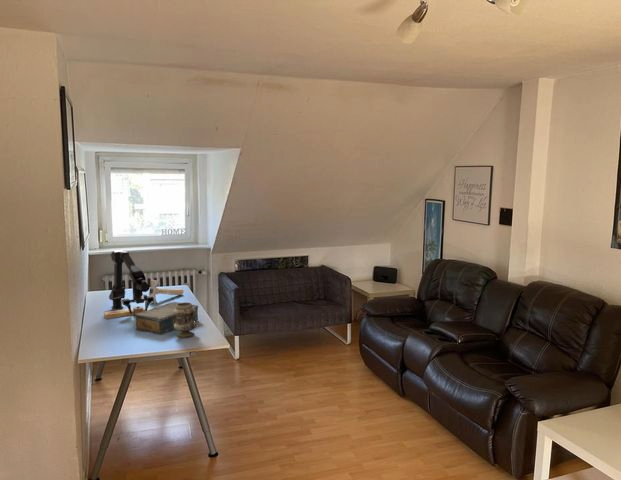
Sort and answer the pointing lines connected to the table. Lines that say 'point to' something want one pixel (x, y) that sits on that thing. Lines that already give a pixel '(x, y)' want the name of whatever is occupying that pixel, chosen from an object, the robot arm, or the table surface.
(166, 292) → the hammer
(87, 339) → the table surface
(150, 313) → the metal box
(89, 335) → the table surface
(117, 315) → the board
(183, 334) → the apothecary jar
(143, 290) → the robot arm
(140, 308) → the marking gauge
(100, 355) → the table surface
